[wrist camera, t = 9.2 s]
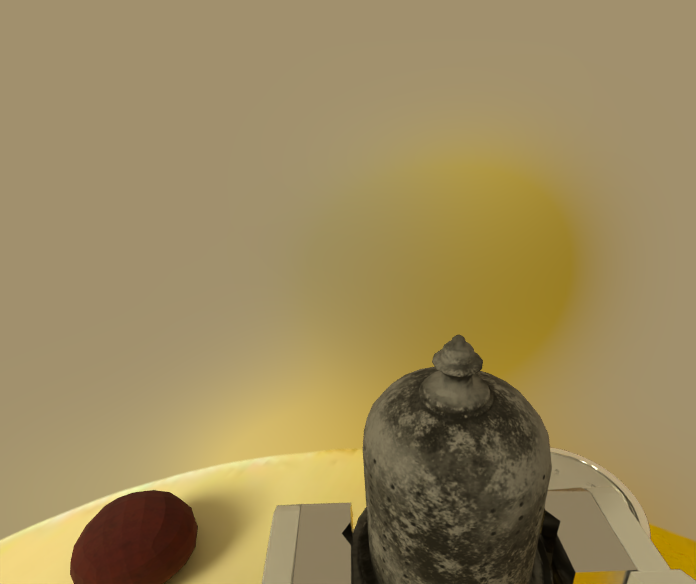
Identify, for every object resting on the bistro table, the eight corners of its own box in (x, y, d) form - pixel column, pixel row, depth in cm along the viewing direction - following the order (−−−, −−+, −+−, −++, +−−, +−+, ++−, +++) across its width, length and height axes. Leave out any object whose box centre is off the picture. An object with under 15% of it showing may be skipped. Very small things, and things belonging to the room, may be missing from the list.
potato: (106, 532, 36) (82, 481, 33) (208, 511, 37) (193, 460, 35) (73, 631, 29) (39, 576, 27) (198, 601, 31) (178, 546, 28)
